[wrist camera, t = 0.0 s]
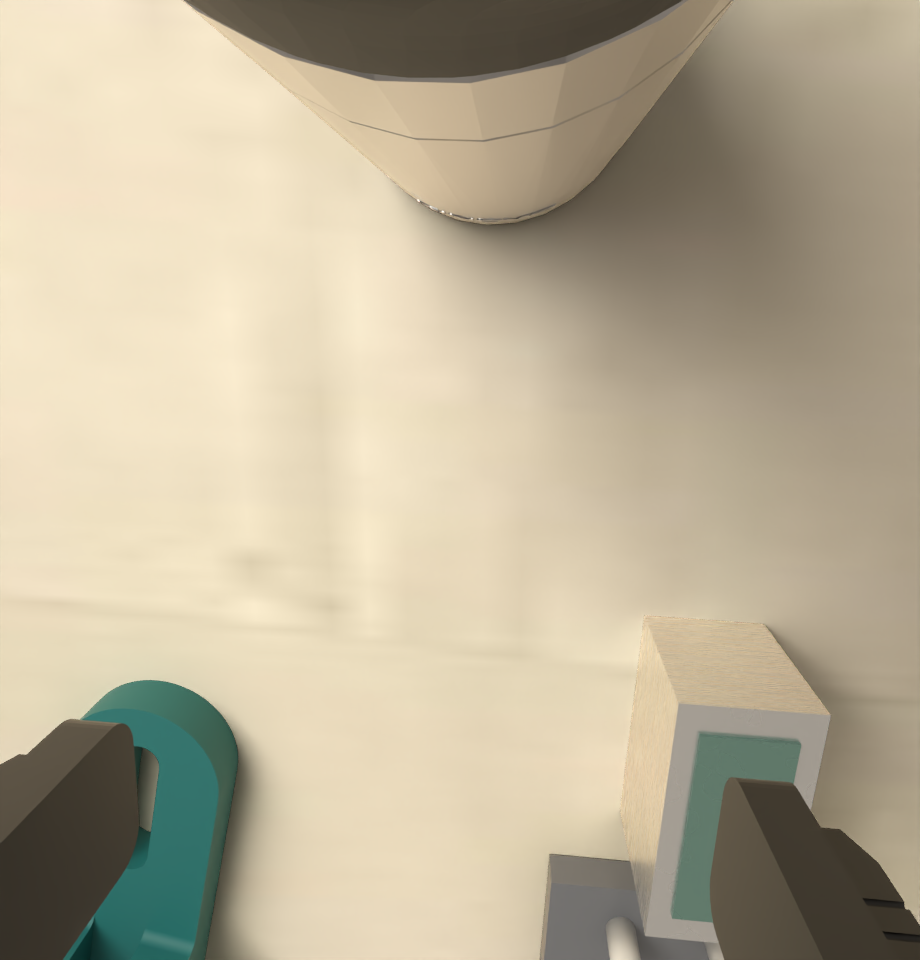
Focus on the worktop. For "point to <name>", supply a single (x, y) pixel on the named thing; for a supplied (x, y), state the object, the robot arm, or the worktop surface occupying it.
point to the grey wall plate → (603, 916)
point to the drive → (706, 754)
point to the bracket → (168, 828)
